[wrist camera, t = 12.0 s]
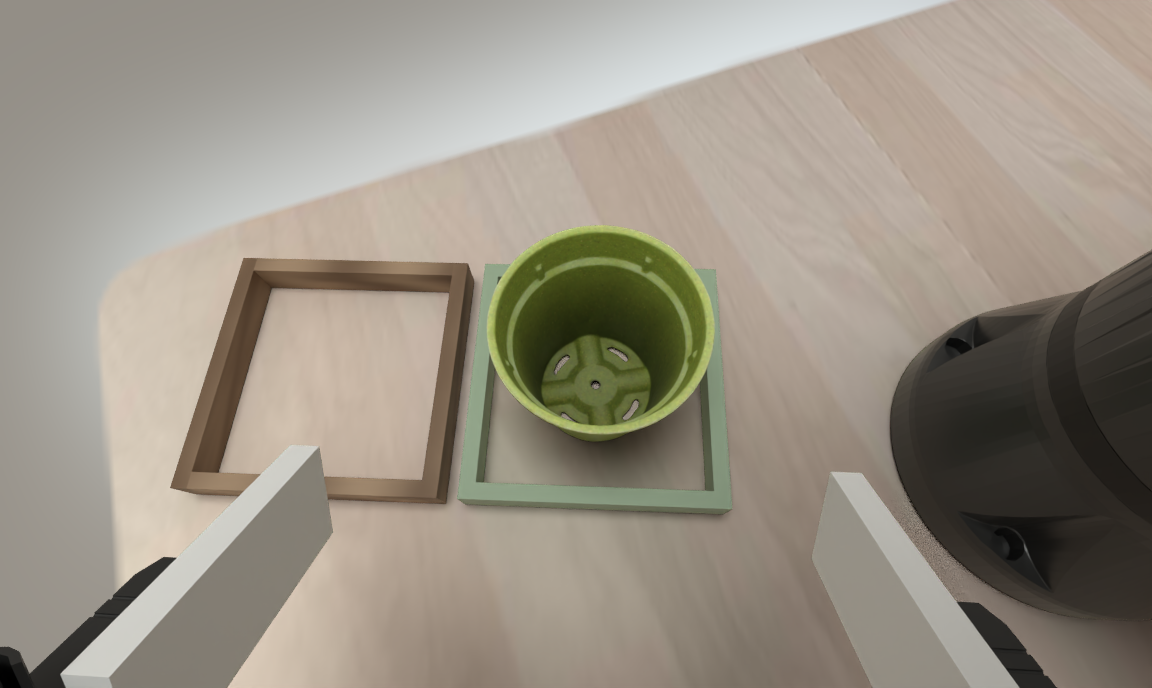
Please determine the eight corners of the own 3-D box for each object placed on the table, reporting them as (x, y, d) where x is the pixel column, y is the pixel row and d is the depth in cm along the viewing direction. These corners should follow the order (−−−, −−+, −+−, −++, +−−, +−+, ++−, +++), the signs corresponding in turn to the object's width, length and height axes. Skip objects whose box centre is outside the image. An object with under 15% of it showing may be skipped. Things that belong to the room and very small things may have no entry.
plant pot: (712, 364, 31) (755, 288, 24) (626, 511, 28) (641, 480, 20) (572, 285, 34) (567, 192, 26) (478, 414, 31) (439, 353, 23)
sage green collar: (708, 287, 33) (715, 269, 32) (722, 514, 28) (732, 509, 26) (490, 281, 34) (485, 263, 32) (465, 504, 29) (457, 498, 27)
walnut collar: (474, 281, 34) (467, 263, 32) (445, 503, 29) (436, 497, 27) (262, 275, 34) (243, 258, 32) (196, 494, 29) (170, 487, 27)
